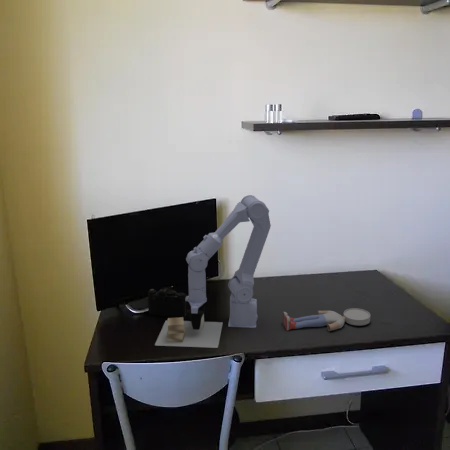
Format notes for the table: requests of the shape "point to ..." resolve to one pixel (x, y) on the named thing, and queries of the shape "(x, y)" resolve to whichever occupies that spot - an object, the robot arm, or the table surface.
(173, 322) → the slab top
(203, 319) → the cylinder
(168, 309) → the camera
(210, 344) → the mat
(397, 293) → the table surface
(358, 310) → the toy
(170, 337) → the slab bottom
